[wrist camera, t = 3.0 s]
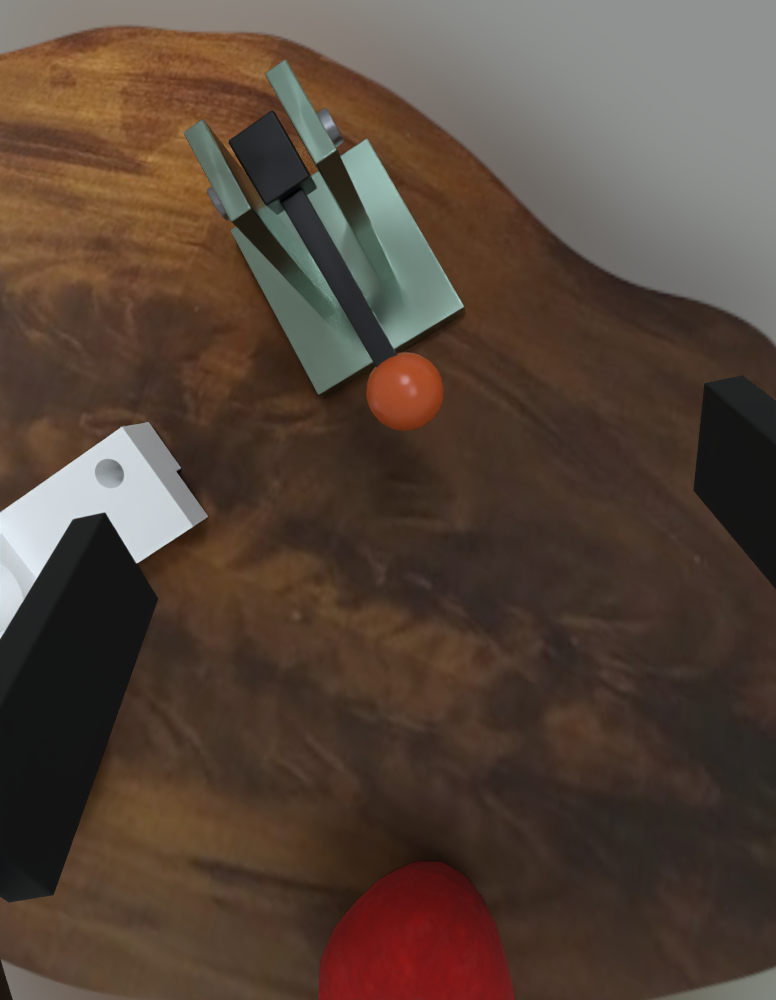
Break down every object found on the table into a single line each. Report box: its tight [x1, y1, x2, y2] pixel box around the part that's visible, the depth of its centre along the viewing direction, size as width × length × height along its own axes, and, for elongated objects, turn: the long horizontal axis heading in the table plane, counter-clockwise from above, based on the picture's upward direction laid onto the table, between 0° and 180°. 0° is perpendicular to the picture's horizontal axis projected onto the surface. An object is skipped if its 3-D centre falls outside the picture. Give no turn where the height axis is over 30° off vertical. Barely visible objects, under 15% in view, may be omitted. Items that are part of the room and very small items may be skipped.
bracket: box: [0, 422, 208, 638], centre depth 37 cm, size 13×7×8 cm, turn 121°
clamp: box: [184, 60, 465, 398], centre depth 31 cm, size 12×10×14 cm
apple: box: [318, 861, 515, 1000], centre depth 30 cm, size 10×10×11 cm
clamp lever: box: [229, 111, 444, 431], centre depth 27 cm, size 14×4×4 cm, turn 29°
